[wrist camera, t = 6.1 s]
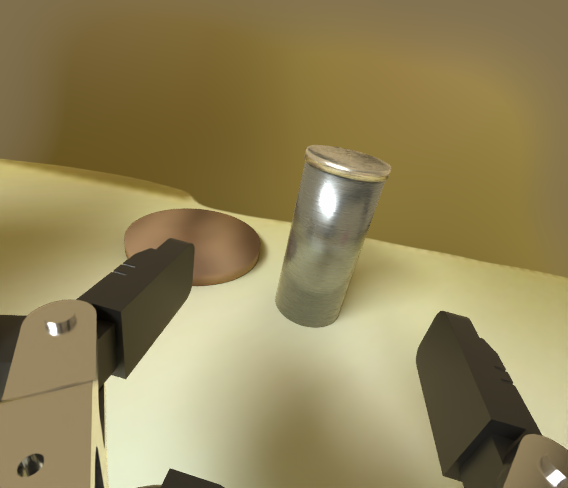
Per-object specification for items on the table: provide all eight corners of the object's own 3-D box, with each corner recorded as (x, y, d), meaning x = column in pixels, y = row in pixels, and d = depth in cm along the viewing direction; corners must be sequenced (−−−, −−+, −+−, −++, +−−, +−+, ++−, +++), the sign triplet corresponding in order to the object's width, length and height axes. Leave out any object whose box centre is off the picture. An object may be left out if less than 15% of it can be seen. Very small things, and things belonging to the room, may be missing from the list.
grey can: (323, 282, 29) (362, 150, 23) (351, 324, 24) (409, 174, 19) (266, 285, 27) (294, 141, 21) (286, 331, 22) (328, 166, 17)
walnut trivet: (244, 220, 37) (246, 210, 36) (273, 282, 27) (275, 270, 27) (131, 216, 32) (130, 206, 32) (117, 289, 23) (116, 276, 22)
